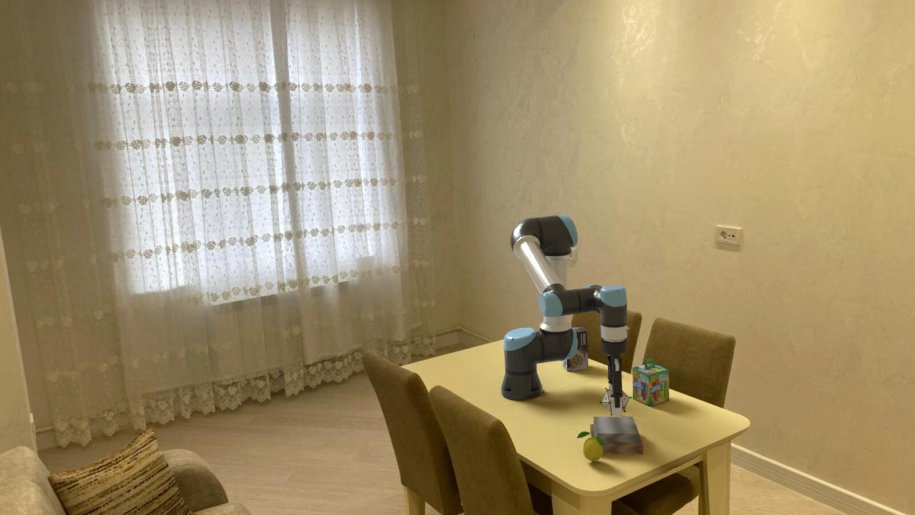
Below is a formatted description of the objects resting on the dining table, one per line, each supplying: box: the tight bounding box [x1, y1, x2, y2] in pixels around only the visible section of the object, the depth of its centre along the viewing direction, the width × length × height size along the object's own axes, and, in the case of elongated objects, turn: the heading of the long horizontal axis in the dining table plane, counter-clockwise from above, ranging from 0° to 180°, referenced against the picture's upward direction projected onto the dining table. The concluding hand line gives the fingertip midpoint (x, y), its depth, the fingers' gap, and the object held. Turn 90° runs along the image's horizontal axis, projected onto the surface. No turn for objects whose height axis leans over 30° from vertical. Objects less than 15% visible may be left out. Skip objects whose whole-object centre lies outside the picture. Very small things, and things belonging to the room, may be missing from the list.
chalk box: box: [631, 357, 670, 407], centre depth 232 cm, size 9×9×15 cm
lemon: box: [576, 429, 607, 463], centre depth 191 cm, size 7×6×10 cm
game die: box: [598, 387, 633, 416], centre depth 200 cm, size 9×8×10 cm
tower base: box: [589, 415, 644, 455], centre depth 202 cm, size 14×14×6 cm
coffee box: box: [561, 325, 589, 372], centre depth 267 cm, size 9×6×16 cm
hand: (615, 410), depth 201 cm, fingers closed on game die, 8 cm apart
